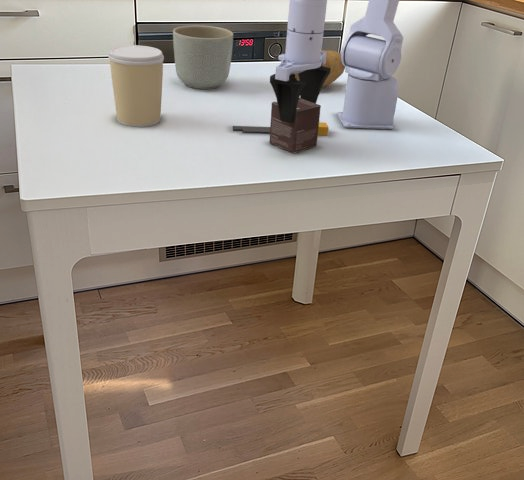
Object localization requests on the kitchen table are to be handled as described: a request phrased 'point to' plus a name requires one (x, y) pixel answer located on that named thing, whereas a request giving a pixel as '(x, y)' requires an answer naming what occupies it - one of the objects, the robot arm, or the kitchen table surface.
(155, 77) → the coffee cup
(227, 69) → the planter
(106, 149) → the kitchen table surface
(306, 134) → the box
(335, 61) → the potato
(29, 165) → the kitchen table surface
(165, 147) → the kitchen table surface
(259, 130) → the knife
